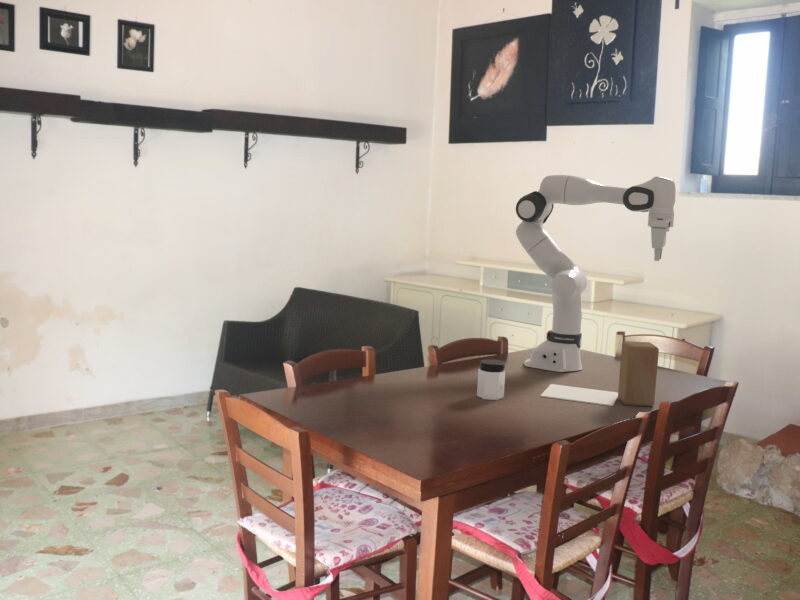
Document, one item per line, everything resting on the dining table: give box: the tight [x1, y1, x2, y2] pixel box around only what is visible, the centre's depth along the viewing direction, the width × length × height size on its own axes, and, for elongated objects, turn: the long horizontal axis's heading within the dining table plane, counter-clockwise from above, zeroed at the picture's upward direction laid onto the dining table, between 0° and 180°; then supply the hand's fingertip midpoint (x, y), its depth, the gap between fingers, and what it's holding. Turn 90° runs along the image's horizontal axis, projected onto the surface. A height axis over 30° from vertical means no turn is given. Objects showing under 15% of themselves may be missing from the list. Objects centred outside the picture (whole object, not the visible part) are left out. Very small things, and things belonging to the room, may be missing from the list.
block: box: [617, 340, 660, 407], centre depth 267 cm, size 10×10×20 cm
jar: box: [476, 358, 506, 401], centre depth 267 cm, size 9×8×12 cm
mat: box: [540, 383, 619, 407], centre depth 275 cm, size 24×18×1 cm
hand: (657, 259), depth 293 cm, fingers open, 8 cm apart
